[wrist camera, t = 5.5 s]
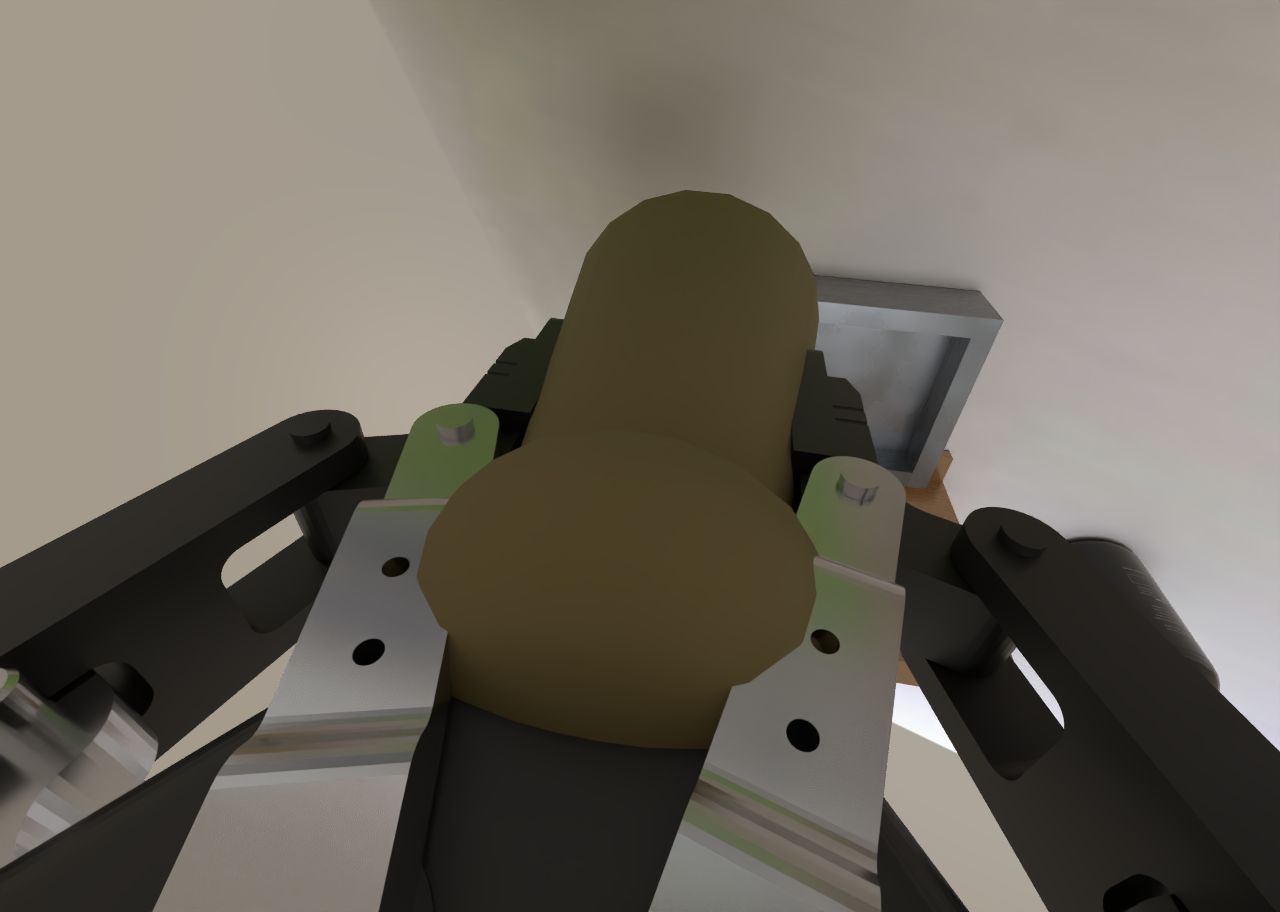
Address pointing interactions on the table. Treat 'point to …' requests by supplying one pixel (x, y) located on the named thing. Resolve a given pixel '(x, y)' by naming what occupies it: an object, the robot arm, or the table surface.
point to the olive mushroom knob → (643, 491)
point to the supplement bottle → (1145, 598)
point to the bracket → (907, 374)
